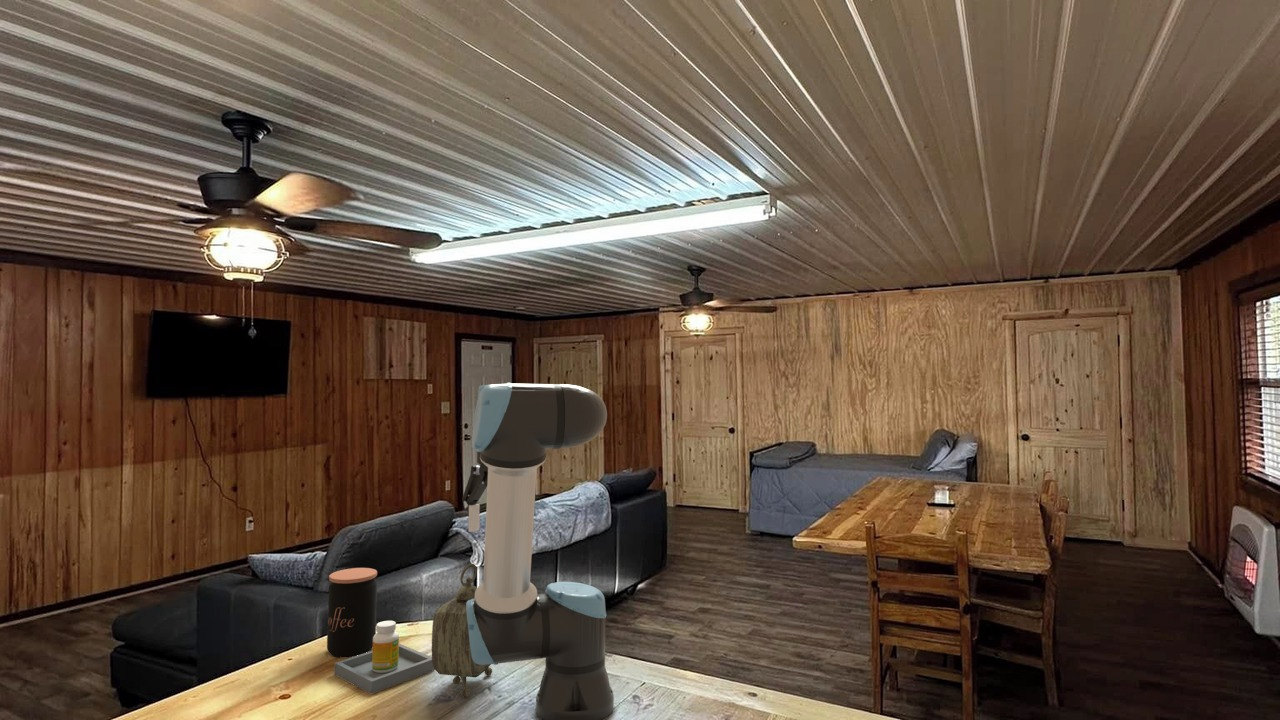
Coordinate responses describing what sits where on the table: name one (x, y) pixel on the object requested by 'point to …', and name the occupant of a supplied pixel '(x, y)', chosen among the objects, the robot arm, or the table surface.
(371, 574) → the coffee jar
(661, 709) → the table surface
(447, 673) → the tabletop clock
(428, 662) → the tray
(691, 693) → the table surface
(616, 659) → the table surface
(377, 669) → the supplement bottle
